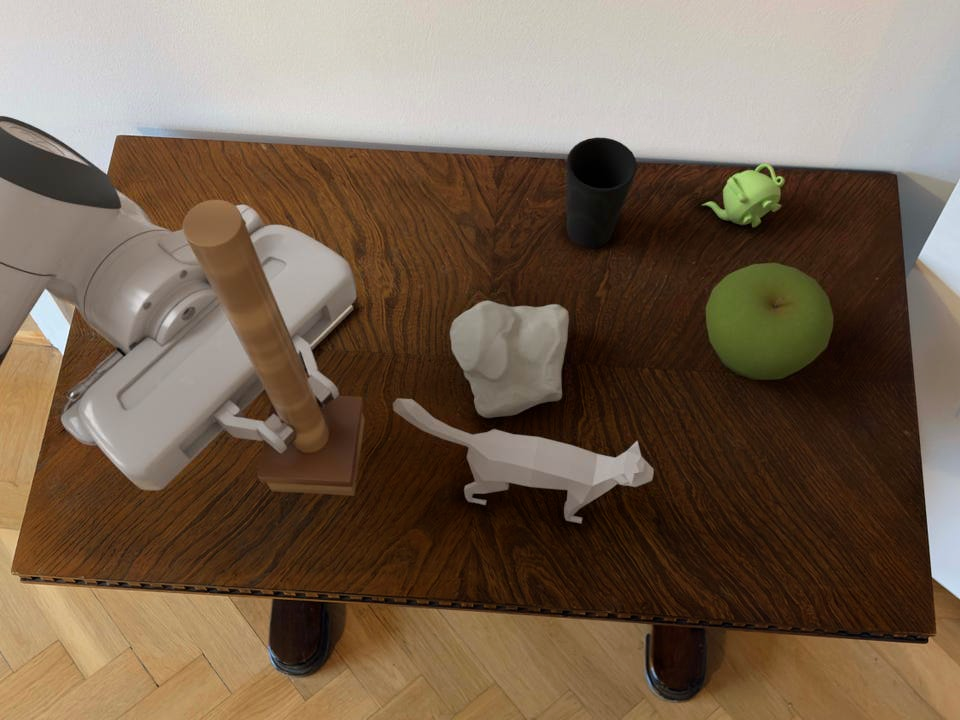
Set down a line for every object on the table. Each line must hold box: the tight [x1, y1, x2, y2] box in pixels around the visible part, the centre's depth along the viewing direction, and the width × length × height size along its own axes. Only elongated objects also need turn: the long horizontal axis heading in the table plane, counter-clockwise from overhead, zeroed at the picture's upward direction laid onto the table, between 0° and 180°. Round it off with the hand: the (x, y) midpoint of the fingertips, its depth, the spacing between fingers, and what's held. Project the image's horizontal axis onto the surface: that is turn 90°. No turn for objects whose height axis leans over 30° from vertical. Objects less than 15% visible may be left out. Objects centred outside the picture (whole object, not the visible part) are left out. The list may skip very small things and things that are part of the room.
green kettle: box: [701, 163, 786, 228], centre depth 84 cm, size 6×5×6 cm
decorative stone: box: [449, 300, 570, 419], centre depth 76 cm, size 11×9×10 cm
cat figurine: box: [392, 397, 655, 524], centre depth 67 cm, size 4×20×14 cm, turn 78°
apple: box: [705, 262, 834, 381], centre depth 75 cm, size 11×10×10 cm
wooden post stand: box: [182, 199, 365, 497], centre depth 50 cm, size 6×6×28 cm
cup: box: [566, 136, 638, 249], centre depth 82 cm, size 6×6×10 cm
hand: (310, 419), depth 55 cm, fingers closed on wooden post stand, 2 cm apart
